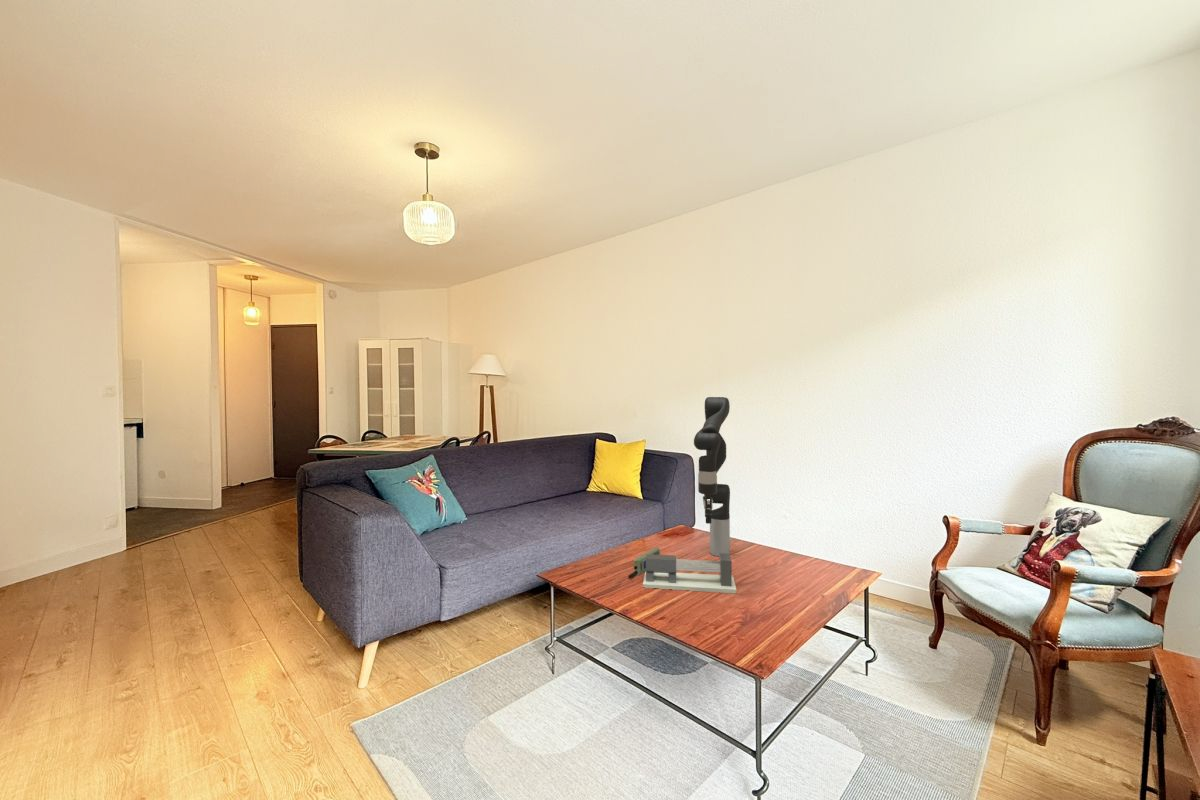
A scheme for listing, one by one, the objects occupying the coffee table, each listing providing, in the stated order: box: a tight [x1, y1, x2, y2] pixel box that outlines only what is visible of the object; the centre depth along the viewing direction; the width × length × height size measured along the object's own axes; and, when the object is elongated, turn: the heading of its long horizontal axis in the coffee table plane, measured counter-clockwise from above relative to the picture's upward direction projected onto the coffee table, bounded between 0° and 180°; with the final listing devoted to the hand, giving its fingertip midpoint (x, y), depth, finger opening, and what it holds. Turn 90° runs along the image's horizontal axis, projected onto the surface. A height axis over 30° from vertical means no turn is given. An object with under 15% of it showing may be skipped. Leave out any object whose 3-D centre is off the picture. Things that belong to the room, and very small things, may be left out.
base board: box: [642, 571, 738, 594], centre depth 193 cm, size 14×36×2 cm, turn 80°
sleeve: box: [645, 554, 677, 583], centre depth 195 cm, size 8×12×9 cm, turn 80°
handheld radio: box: [627, 546, 661, 579], centre depth 209 cm, size 7×3×25 cm
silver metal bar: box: [676, 558, 721, 574], centre depth 192 cm, size 3×24×3 cm, turn 80°
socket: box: [719, 553, 733, 586], centre depth 190 cm, size 8×4×10 cm, turn 170°
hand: (708, 520), depth 197 cm, fingers open, 8 cm apart
